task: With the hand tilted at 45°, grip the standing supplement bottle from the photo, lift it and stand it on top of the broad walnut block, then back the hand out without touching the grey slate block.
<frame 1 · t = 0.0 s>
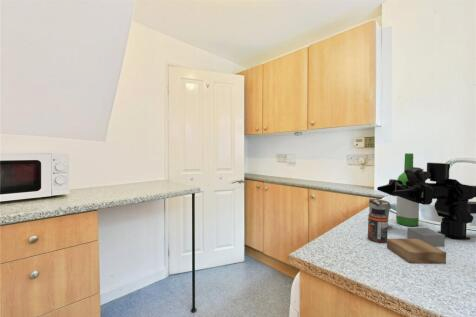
hand: (384, 190, 85), 17 cm above the worktop, tool horizontal, fingers open, 9 cm apart
food container: (381, 225, 98), on the worktop
walnut block: (414, 255, 70), on the worktop
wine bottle: (406, 224, 100), on the worktop
slate block: (425, 243, 80), on the worktop
supplement bottle: (377, 240, 82), on the worktop
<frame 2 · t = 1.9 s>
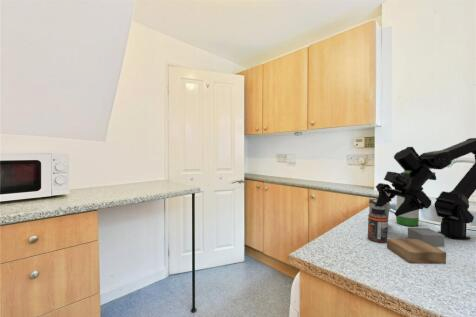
hand: (384, 211, 82), 10 cm above the worktop, tool tilted 45°, fingers open, 9 cm apart
nothing on the worktop moved.
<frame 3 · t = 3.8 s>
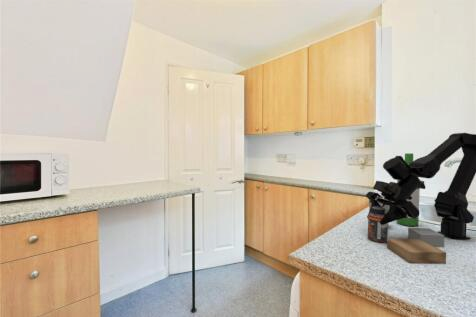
hand: (374, 221, 82), 7 cm above the worktop, tool tilted 45°, fingers closed on supplement bottle, 6 cm apart
supplement bottle: (377, 240, 82), on the worktop, touching gripper
everything else where it was.
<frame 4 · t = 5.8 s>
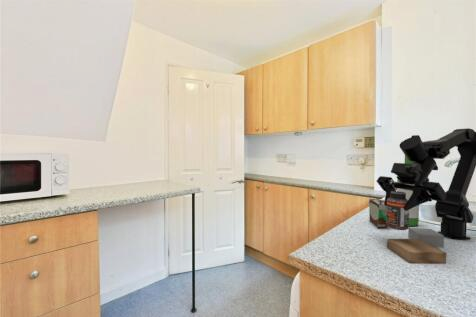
hand: (394, 207, 74), 13 cm above the worktop, tool tilted 45°, fingers closed on supplement bottle, 6 cm apart
supplement bottle: (397, 228, 75), point 6 cm above the worktop, touching gripper
everything else where it was.
when the fingers open (11 cm above the worktop, at t = 7.9 s): supplement bottle drops 1 cm, resting on walnut block.
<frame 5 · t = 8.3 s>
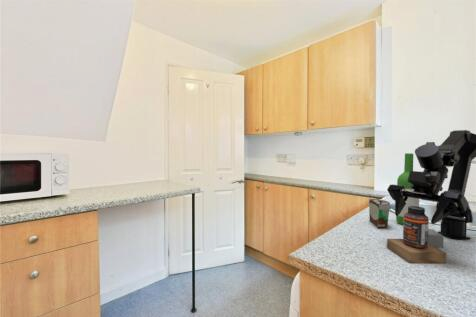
hand: (413, 219, 69), 11 cm above the worktop, tool tilted 45°, fingers open, 9 cm apart
supplement bottle: (415, 245, 70), point 3 cm above the worktop, touching walnut block
everything else where it was.
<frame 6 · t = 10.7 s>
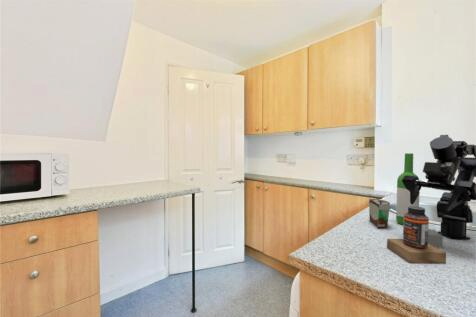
hand: (428, 206, 74), 14 cm above the worktop, tool tilted 45°, fingers open, 9 cm apart
nothing on the worktop moved.
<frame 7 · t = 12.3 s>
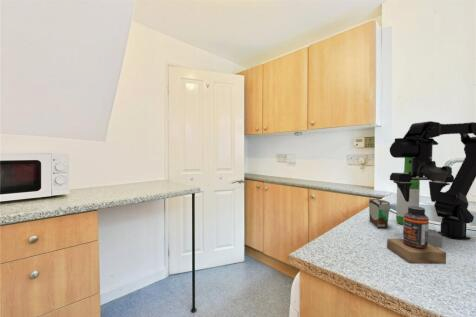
hand: (420, 201, 83), 13 cm above the worktop, tool pointing down, fingers open, 9 cm apart
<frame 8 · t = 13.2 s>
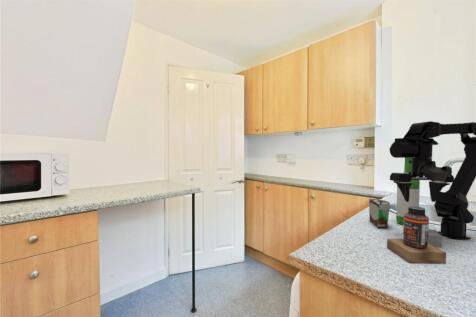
hand: (420, 201, 83), 13 cm above the worktop, tool pointing down, fingers open, 9 cm apart
nothing on the worktop moved.
at the end: supplement bottle 0.2 cm off-centre on the walnut block, point 2.8 cm above the walnut block's base; supplement bottle tilted 0°; supplement bottle touching walnut block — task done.
